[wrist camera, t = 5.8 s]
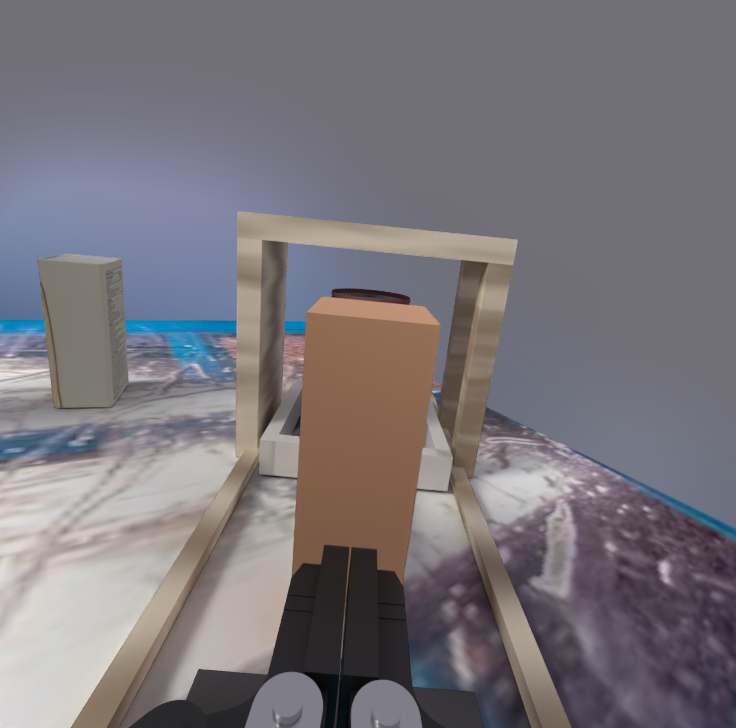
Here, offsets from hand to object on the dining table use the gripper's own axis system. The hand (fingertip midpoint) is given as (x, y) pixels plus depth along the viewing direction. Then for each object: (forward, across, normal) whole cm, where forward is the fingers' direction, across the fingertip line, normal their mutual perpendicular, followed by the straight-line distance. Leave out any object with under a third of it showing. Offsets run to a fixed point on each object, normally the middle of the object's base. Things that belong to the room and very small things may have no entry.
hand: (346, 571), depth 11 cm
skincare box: (+25, +24, +7) cm, 35 cm away
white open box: (+14, 0, +6) cm, 16 cm away
